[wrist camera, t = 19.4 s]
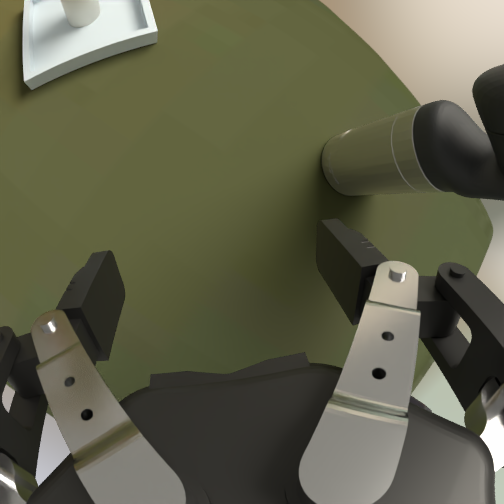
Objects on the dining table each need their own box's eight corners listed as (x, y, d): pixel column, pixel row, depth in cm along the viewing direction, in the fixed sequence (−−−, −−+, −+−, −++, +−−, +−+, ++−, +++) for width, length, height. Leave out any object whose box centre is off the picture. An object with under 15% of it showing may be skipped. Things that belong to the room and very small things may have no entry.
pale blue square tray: (136, -32, 27) (137, -44, 24) (157, 42, 31) (157, 30, 28) (29, 6, 22) (24, -4, 20) (31, 90, 26) (24, 81, 23)
